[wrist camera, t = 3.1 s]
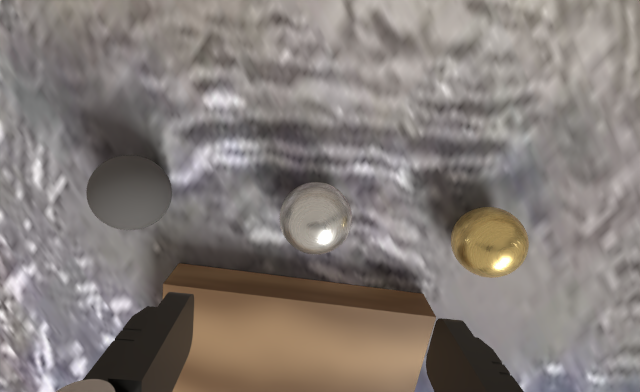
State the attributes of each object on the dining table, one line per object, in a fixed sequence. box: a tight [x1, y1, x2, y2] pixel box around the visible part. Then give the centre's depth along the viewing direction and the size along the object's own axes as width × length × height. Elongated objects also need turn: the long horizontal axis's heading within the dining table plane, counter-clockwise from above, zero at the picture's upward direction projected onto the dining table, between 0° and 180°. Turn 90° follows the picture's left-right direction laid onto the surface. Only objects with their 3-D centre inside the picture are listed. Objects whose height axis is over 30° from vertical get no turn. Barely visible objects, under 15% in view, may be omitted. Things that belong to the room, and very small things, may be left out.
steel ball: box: [280, 182, 352, 255], centre depth 19 cm, size 4×4×4 cm
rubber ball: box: [87, 155, 172, 230], centre depth 19 cm, size 4×4×4 cm
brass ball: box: [451, 207, 529, 278], centre depth 20 cm, size 4×4×4 cm
